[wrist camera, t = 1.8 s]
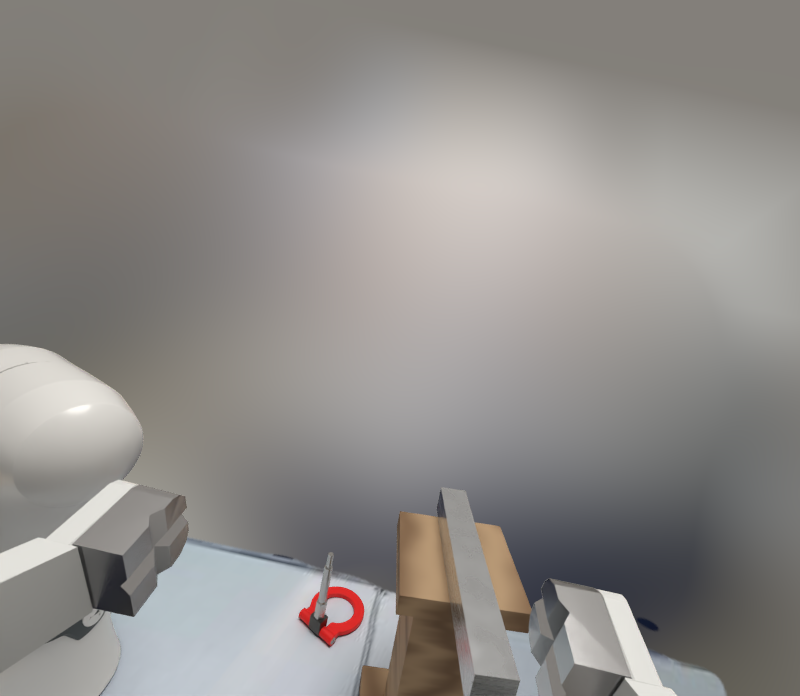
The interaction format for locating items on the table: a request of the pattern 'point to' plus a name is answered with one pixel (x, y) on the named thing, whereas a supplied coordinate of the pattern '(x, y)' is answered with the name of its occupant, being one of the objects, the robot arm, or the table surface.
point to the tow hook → (317, 609)
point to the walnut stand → (437, 611)
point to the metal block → (473, 603)
